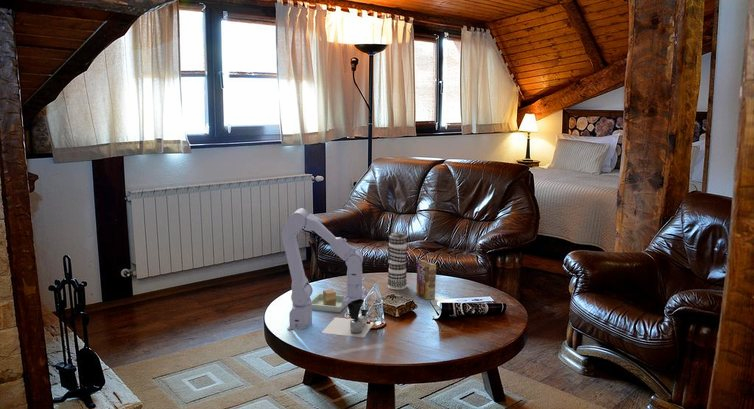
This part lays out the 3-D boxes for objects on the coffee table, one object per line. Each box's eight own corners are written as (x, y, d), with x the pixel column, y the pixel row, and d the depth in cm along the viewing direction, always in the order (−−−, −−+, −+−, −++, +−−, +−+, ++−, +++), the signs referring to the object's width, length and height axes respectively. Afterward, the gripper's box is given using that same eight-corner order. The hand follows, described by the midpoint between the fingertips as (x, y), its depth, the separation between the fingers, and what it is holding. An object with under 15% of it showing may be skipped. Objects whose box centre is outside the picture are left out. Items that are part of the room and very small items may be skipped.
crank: (360, 334, 215) (360, 320, 214) (348, 333, 216) (348, 319, 216) (370, 322, 227) (370, 309, 226) (359, 320, 228) (359, 307, 228)
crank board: (363, 340, 213) (363, 337, 213) (321, 335, 217) (321, 332, 217) (375, 323, 229) (375, 321, 228) (335, 319, 232) (335, 317, 232)
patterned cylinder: (384, 284, 277) (384, 231, 272) (403, 282, 280) (404, 230, 275) (390, 290, 268) (391, 236, 264) (410, 288, 271) (411, 234, 267)
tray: (340, 314, 238) (340, 307, 238) (306, 311, 242) (306, 304, 241) (350, 303, 252) (350, 296, 251) (318, 300, 255) (318, 293, 254)
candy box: (435, 298, 258) (436, 264, 255) (427, 300, 256) (428, 265, 253) (423, 292, 266) (424, 259, 263) (415, 294, 263) (416, 260, 261)
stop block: (335, 305, 246) (335, 291, 245) (326, 307, 244) (326, 293, 243) (332, 302, 249) (332, 289, 248) (323, 304, 247) (323, 290, 246)
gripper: (353, 290, 213) (353, 326, 216) (373, 280, 226) (373, 314, 228) (336, 287, 217) (336, 323, 219) (357, 277, 229) (357, 311, 232)
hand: (354, 318), depth 224 cm, fingers closed
